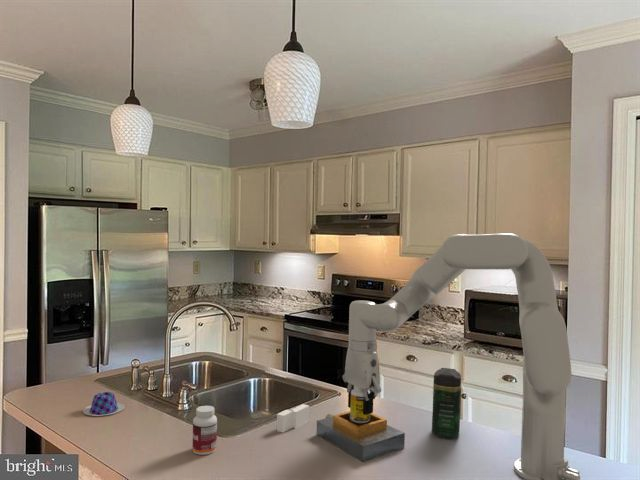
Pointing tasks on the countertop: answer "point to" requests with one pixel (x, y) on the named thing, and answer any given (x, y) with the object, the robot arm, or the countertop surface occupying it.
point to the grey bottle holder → (360, 435)
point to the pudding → (103, 405)
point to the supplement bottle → (358, 406)
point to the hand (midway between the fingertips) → (360, 409)
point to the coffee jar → (446, 403)
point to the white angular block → (292, 418)
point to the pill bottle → (204, 431)
